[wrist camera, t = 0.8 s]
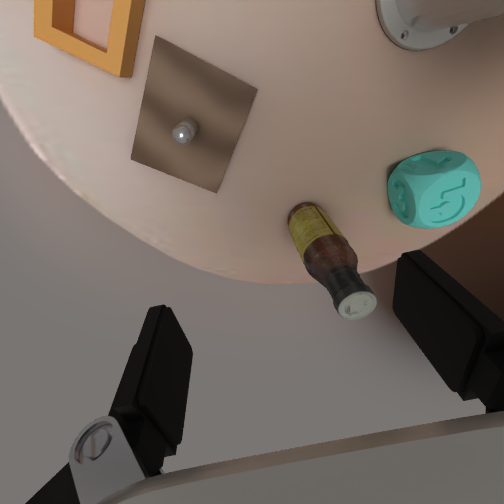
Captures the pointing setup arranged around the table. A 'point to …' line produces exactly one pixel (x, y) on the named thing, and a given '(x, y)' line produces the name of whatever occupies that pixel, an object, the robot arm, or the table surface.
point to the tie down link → (61, 36)
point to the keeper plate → (189, 99)
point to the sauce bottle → (330, 260)
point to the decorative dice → (434, 188)
